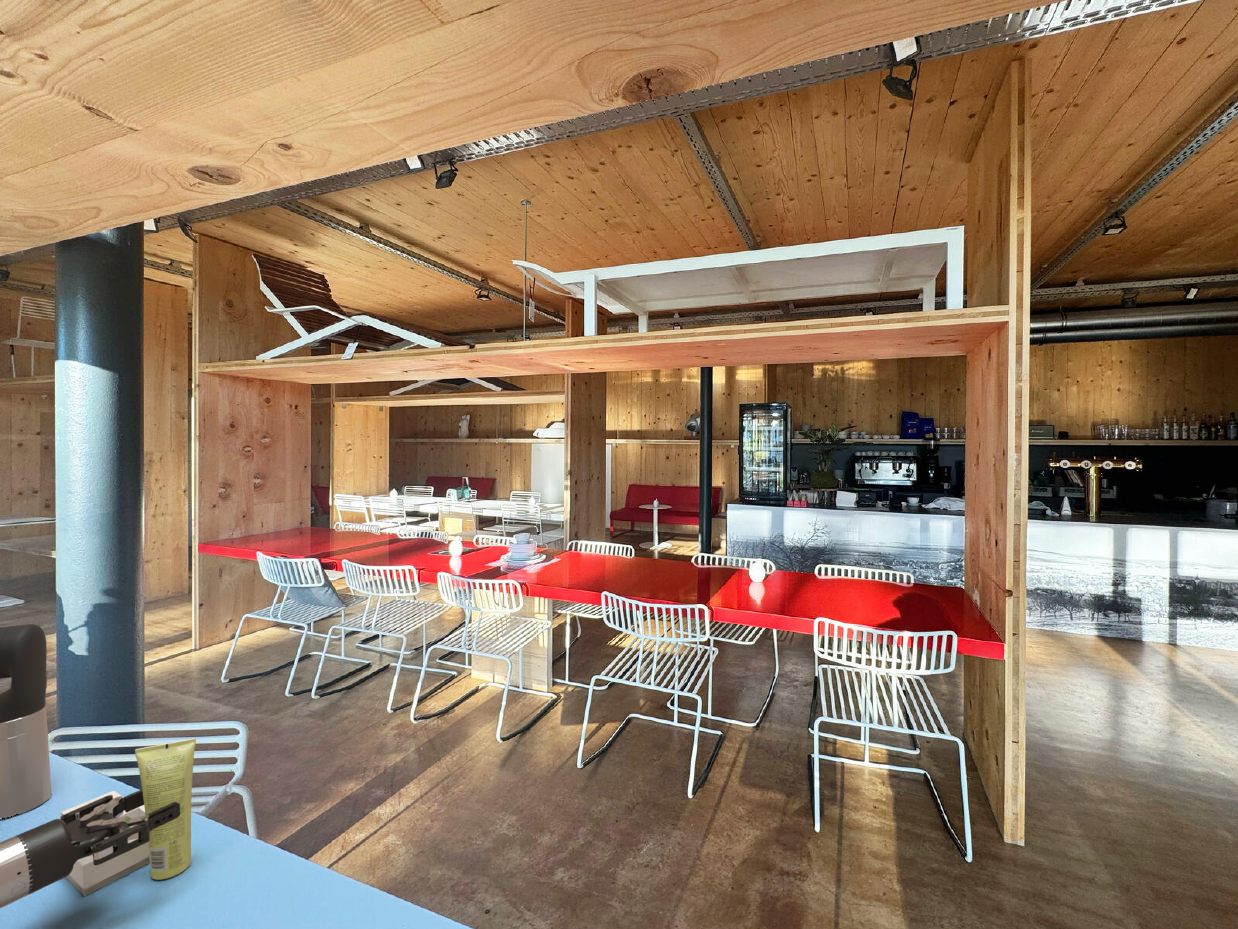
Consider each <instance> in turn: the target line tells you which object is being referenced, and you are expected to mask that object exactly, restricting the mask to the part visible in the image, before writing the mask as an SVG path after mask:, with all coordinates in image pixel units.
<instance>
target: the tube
mask: <svg viewBox="0 0 1238 929" xmlns="http://www.w3.org/2000/svg"><path fill="white" fill-rule="evenodd" d="M196 743H197V739H196V737H194V738H189V739H185V740H177V741H174V742H167V743H162V744H158V745H157V744H156V745H152V746H145V747H140V748H136V749H135V751H134V755H135V758H136V759H135V760H136V761H137V766H138V771H139V776H140V777H139V778H140V784H141V789H142V791H143V799H144V806H145V815H147V814H149V813H151V812H153V811H156V810H158V809H160V808H162V807H164V806H166V805H169V804H171V803H173V802H177V803H179V804H180V816H179V817H178V818H176V819H174V820H172V821H170V822H168V823H166V824H163V825H161V826H159V827H157V828H155V829H153V830H151V831H150V840H149V841H148V845H149V858H150V863H149V871H150V877H151V878H152V879H153V880H158V881H159V880H166V879H169V878H172V877H175V876H177V875H179V874H181V873H182V872H184V871H186V869H188V868H189V866H190V865H191V863H192V797H193V794H192V793H193V792H192V790H193V774H194V773H193V772H194V758H195V757H194V756H195V749H196V745H197V744H196Z"/></svg>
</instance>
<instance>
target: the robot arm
mask: <svg viewBox="0 0 1238 929" xmlns="http://www.w3.org/2000/svg"><path fill="white" fill-rule="evenodd" d="M47 652H48V649H47V638H46V635H45V632H44V630H43V628H42V627H41V626H40V625H39V624H33V623H29V624H19V625H17V624H16V625H9V626H7V625H6V626H0V680H4V679H10V688H8V689H7V690H5V691H4V692H3V691H2V692H1V693H0V818H5V819H8V818H7V817H9V818H12V817H15V816H14V815H16V814H19V815H21V814H23V813H27V812H29V811H31V810H33V809H35V808H37V807H39V806H40V805H42V804H44V803H45V802H46V801H48V800H49V799H50V798H51V796H52V781H51V780H52V779H51V778H52V777H51V761H50V759H51V758H50V747H49V746H50V745H49V744H50V743H49V736H48V735H49V732H48V719H47V718H48V717H47V706H46V704H47V703H46V695H47V694H46V693H47V687H48V686H47V684H48V683H47V682H48V681H47V679H48V676H47V657H48V656H47V654H48V653H47ZM122 796H123V795H121V796H119V797H116V798H114V799H113V795H108V796H105V797H103V798H101V799H98V800H96V801H94V802H92V803H89V804H87V805H85V806H82V807H80V808H78V809H76V810H73V811H71V812H69V813H67V814H64V815H62V816H60V818H55V819H53V820H49V821H48V822H45V823H43V824H41V825H38V826H36V827H34V828H31V829H29V830H26V831H24V832H21V833H19V834H17V835H14V836H12V837H10V838H8V839H4V840H2V841H0V909H2V908H4V907H7V906H8V905H11V904H13V903H15V902H17V901H19V900H21V899H23V898H26V897H27V896H29V895H31V894H33V893H36V892H38V891H39V890H41V889H44V888H46V887H48V886H50V885H52V884H53V883H56V882H58V881H60V880H62V879H65V878H66V876H68V875H69V874H70V873H71V872H72V870H73V866H74V864H75V862H76V861H77V860H79V859H82V858H84V857H88V856H91V855H92V856H93V864H94V865H100V864H102V863H104V862H106V861H108V860H111V859H113V858H115V857H117V856H119V855H121V854H123V853H126V852H128V851H130V850H132V849H134V848H136V847H139V846H141V845H143V844H145V843H147V842H148V841H149V840H150V831H151V830H153V829H155V828H157V827H159V826H161V825H163V824H166V823H168V822H170V821H172V820H174V819H176V818H178V817H179V816H180V804H179V803H177V802H173V803H171V804H169V805H166V806H164V807H162V808H160V809H158V810H156V811H153V812H151V813H149V814H147V815H146V816H141V817H136V818H130V817H129V816H124V817H120V816H121V815H122V814H123V813H124V812H123V811H124V810H125V812H126V813H127V812H129V811H131V810H134V809H136V808H138V807H140V806H143V805H144V799H143V791H142V788H141V789H139V790H137V791H134V792H132V793H129V794H128V795H125V796H123V797H124V798H123V797H122ZM98 806H99V807H98ZM96 807H98V808H96ZM94 808H96V809H95V810H94ZM26 811H27V812H26ZM11 816H12V817H11ZM16 816H17V815H16ZM118 817H120V818H118ZM134 825H136V826H134ZM130 826H134V827H132V828H130ZM137 838H138V839H137ZM133 839H137V840H135V841H132V842H130V843H128V841H129V840H133Z"/></svg>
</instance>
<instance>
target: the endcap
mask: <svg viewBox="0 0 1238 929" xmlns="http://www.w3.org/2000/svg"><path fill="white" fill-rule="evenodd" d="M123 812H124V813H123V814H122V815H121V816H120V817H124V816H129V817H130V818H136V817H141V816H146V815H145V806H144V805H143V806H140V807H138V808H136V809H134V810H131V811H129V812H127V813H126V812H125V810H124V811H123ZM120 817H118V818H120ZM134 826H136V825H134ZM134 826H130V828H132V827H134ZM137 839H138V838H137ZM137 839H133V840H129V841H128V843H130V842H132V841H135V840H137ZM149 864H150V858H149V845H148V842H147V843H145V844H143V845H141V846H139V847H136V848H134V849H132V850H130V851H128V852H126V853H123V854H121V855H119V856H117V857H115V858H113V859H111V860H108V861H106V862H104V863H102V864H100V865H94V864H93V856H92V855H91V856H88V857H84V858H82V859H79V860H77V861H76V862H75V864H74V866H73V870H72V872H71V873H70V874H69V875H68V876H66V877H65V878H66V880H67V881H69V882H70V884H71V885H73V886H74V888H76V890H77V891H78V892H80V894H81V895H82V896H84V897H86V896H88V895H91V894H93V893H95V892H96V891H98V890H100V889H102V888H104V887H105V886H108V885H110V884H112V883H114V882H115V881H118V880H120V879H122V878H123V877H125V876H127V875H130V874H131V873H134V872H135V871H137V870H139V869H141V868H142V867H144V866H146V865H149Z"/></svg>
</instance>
